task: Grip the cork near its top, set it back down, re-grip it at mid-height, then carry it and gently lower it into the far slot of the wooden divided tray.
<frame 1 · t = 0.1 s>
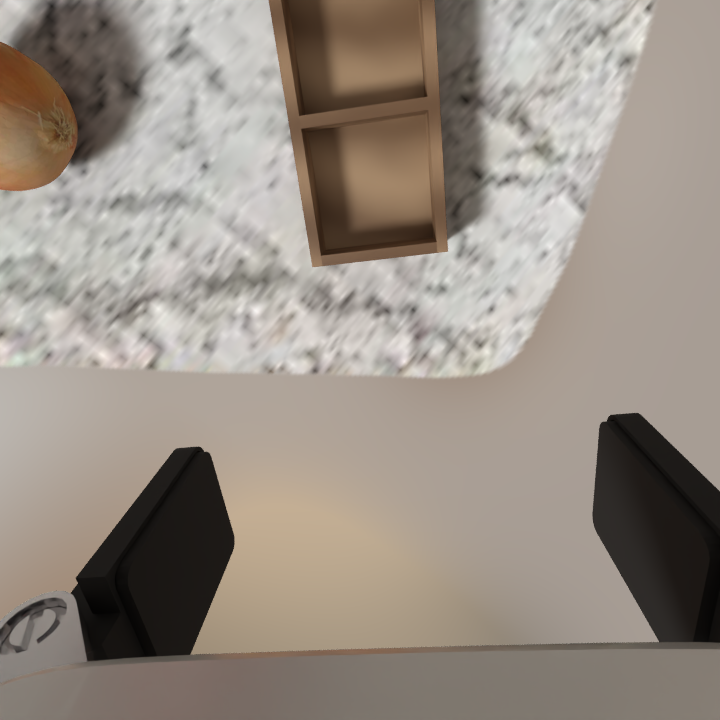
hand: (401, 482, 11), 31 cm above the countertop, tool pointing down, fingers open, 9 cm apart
wooden divided tray: (366, 119, 36), on the countertop
onion: (47, 125, 38), on the countertop
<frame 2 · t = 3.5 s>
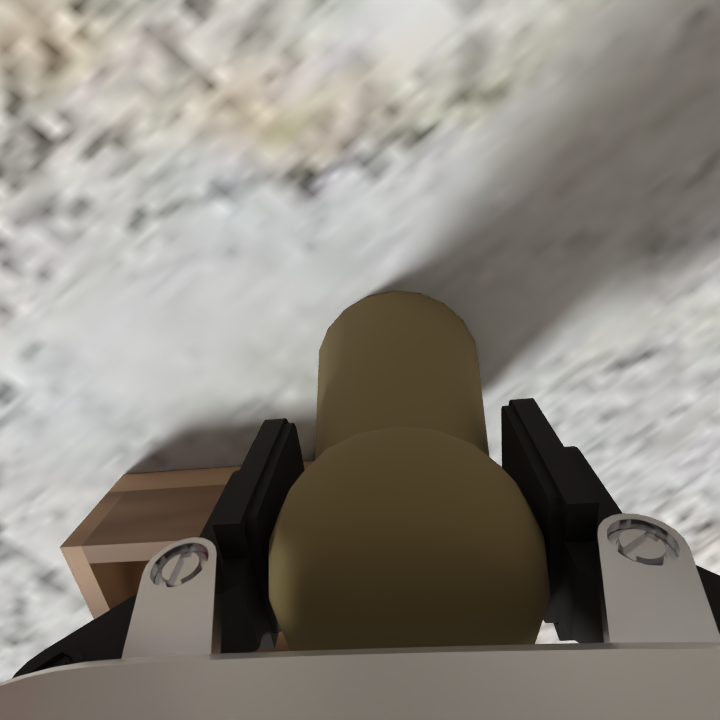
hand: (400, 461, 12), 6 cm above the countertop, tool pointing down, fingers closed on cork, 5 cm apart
wooden divided tray: (285, 634, 23), on the countertop
cork: (397, 367, 18), on the countertop, touching gripper
when the fingers open (7 cm above the countertop, at t = 5.3 s): cork stays where it is, on the countertop.
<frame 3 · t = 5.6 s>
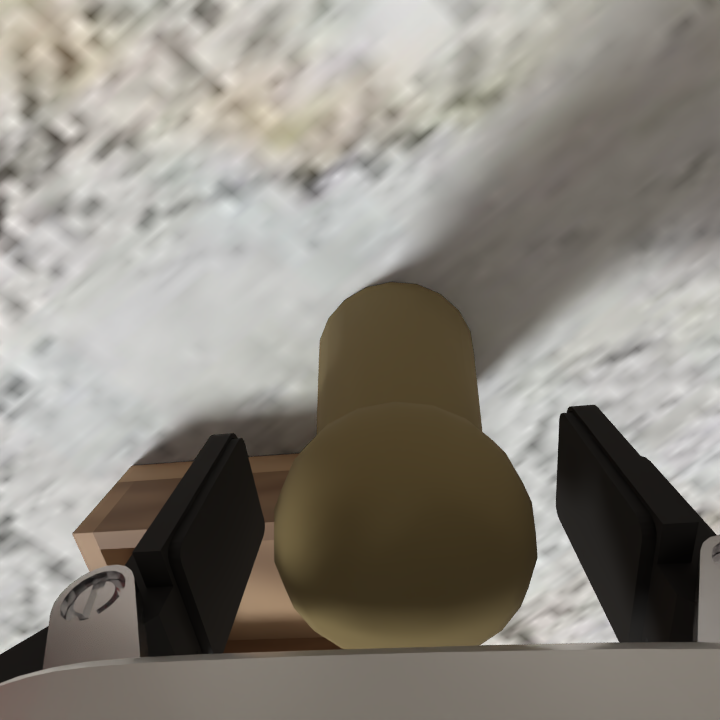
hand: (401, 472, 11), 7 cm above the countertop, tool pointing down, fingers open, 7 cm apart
wooden divided tray: (288, 622, 24), on the countertop
cork: (395, 356, 18), on the countertop
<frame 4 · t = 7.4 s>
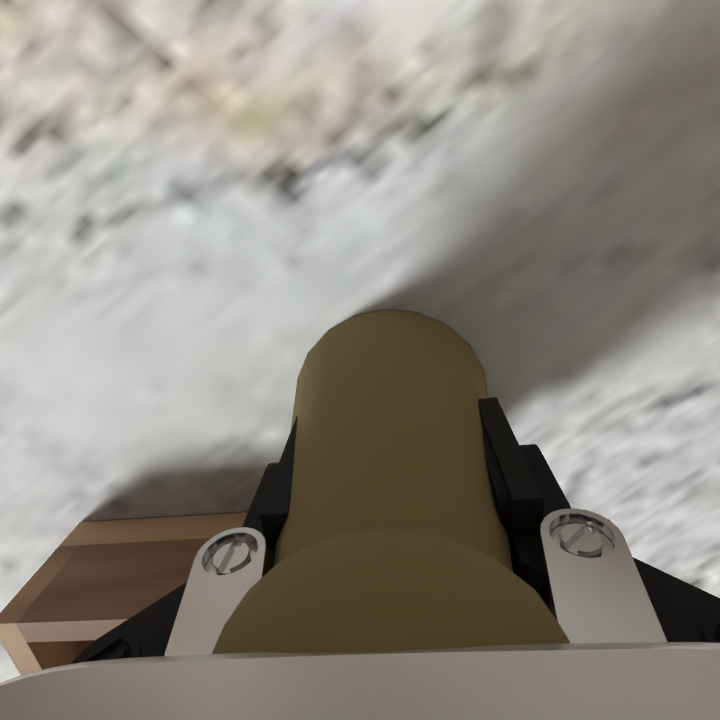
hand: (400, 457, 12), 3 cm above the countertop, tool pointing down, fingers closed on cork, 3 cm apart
wooden divided tray: (270, 695, 21), on the countertop
cork: (390, 398, 15), on the countertop, touching gripper
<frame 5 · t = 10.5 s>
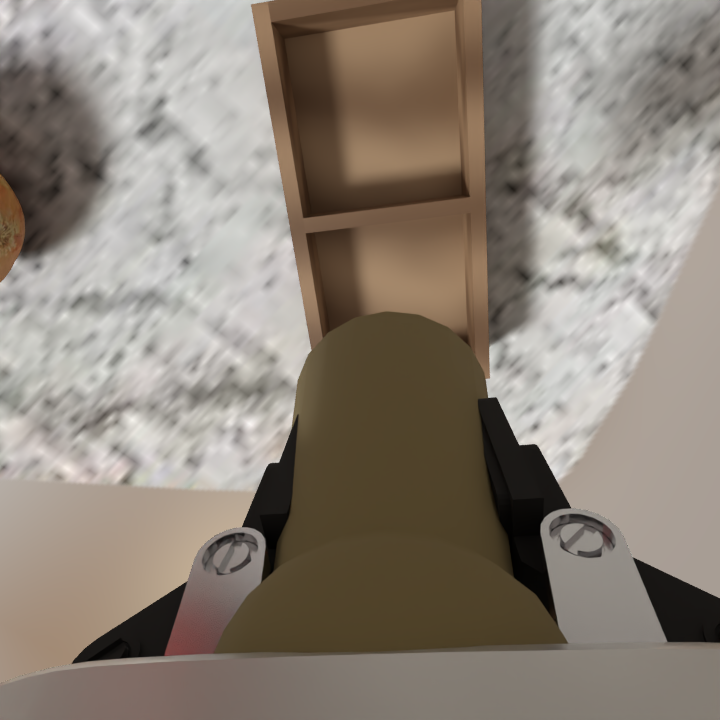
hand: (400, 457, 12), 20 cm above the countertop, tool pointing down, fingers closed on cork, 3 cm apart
wooden divided tray: (386, 209, 29), on the countertop
cork: (391, 400, 15), point 17 cm above the countertop, touching gripper
when the fingers open (5 cm above the countertop, at t = 13.9 s): cork stays where it is, resting on wooden divided tray.
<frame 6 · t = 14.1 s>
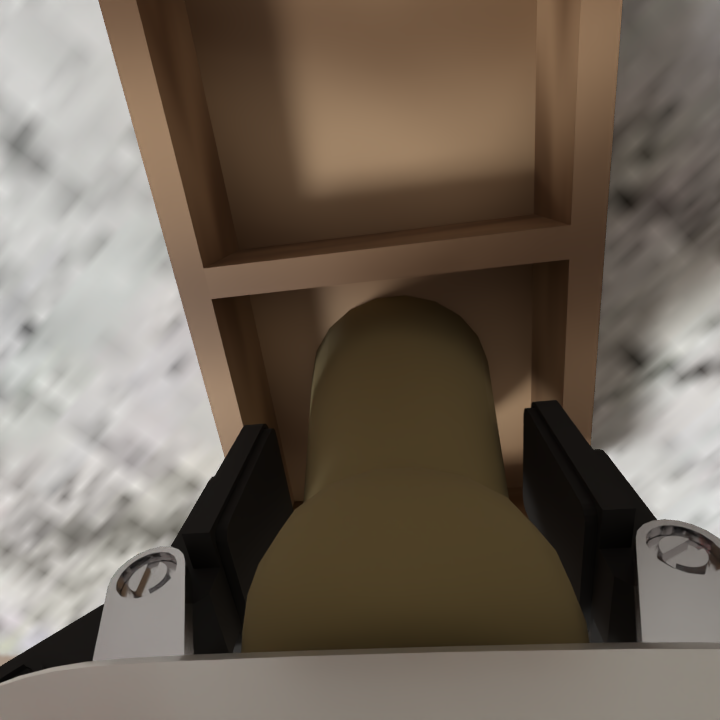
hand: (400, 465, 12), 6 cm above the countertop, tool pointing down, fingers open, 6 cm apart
wooden divided tray: (383, 240, 15), on the countertop
cork: (399, 378, 16), point 1 cm above the countertop, touching wooden divided tray
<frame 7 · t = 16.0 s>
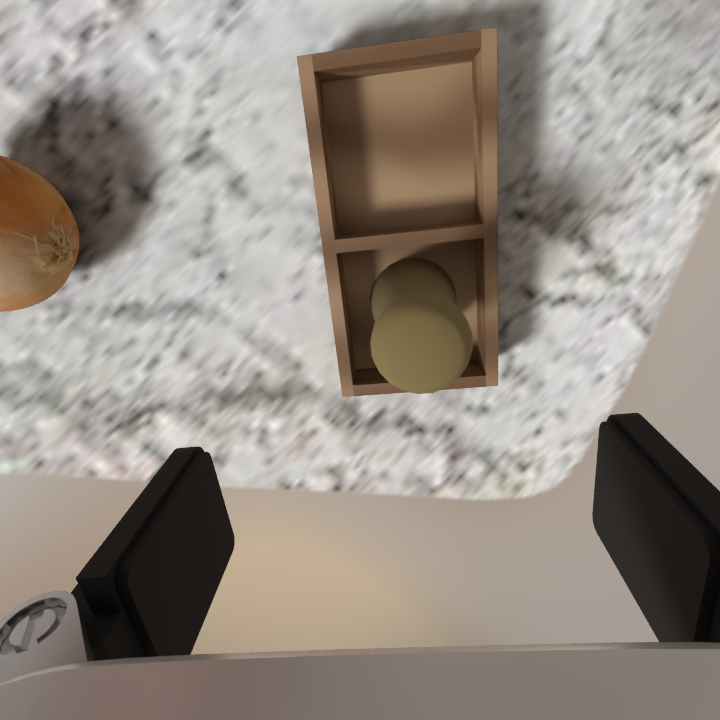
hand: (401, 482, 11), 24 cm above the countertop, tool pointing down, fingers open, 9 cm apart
wooden divided tray: (406, 232, 32), on the countertop
cork: (412, 300, 32), point 1 cm above the countertop, touching wooden divided tray
onion: (45, 227, 33), on the countertop
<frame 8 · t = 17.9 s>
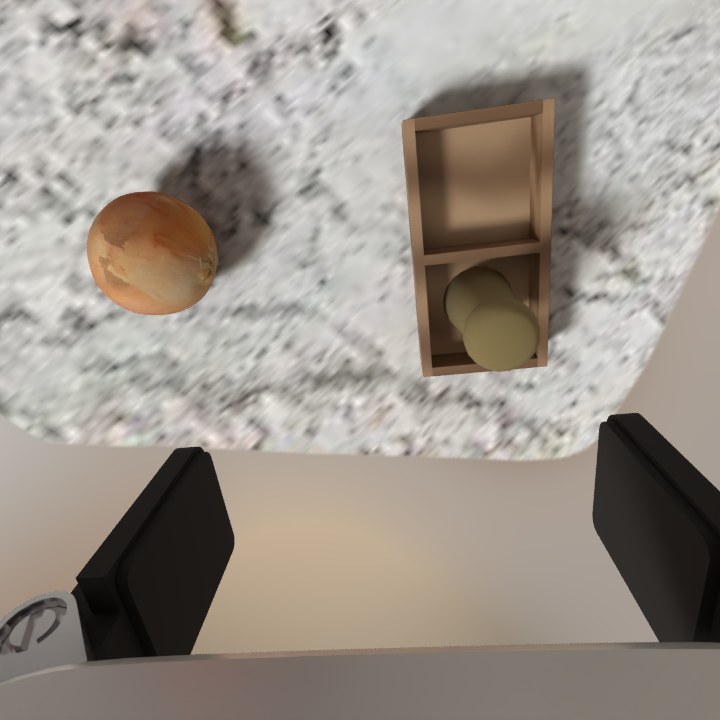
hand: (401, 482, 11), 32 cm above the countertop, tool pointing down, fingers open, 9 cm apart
wooden divided tray: (472, 246, 40), on the countertop
cork: (477, 299, 41), point 1 cm above the countertop, touching wooden divided tray
onion: (181, 246, 42), on the countertop
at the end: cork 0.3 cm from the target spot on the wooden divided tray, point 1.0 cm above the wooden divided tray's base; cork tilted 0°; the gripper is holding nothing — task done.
